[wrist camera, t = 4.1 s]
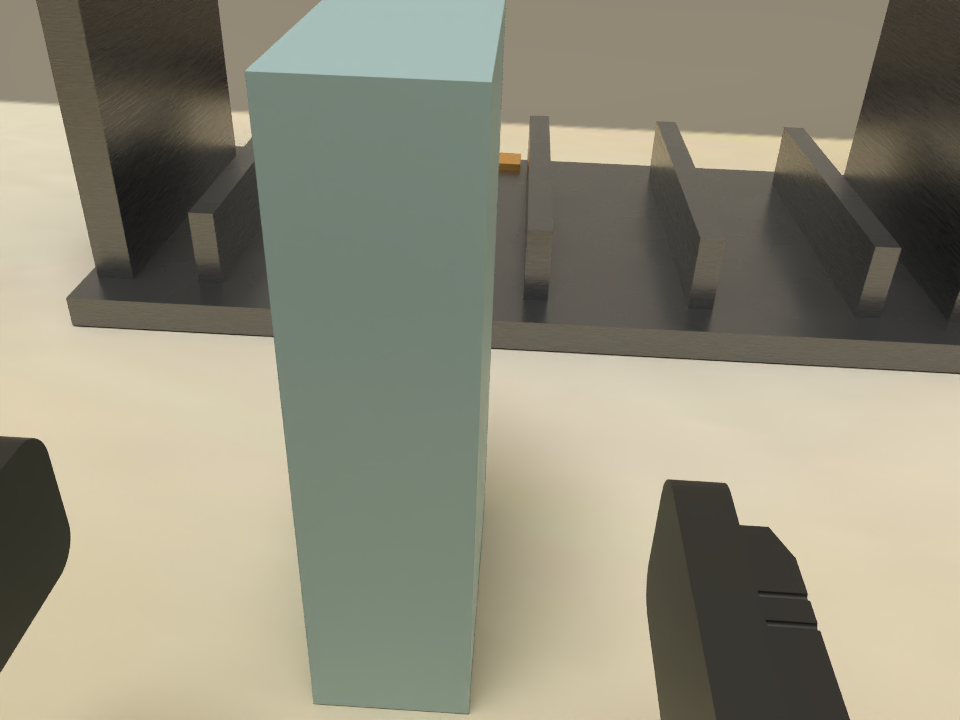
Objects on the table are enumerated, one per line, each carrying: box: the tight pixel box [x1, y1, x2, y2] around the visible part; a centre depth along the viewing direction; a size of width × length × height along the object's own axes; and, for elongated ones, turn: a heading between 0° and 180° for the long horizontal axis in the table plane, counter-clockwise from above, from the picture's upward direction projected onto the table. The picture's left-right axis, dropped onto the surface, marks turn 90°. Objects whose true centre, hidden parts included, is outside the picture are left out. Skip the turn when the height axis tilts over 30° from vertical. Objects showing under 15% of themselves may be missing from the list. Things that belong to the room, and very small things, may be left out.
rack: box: [36, 0, 960, 373], centre depth 31 cm, size 30×15×15 cm, turn 87°
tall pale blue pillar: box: [245, 0, 506, 714], centre depth 16 cm, size 3×6×12 cm, turn 177°
